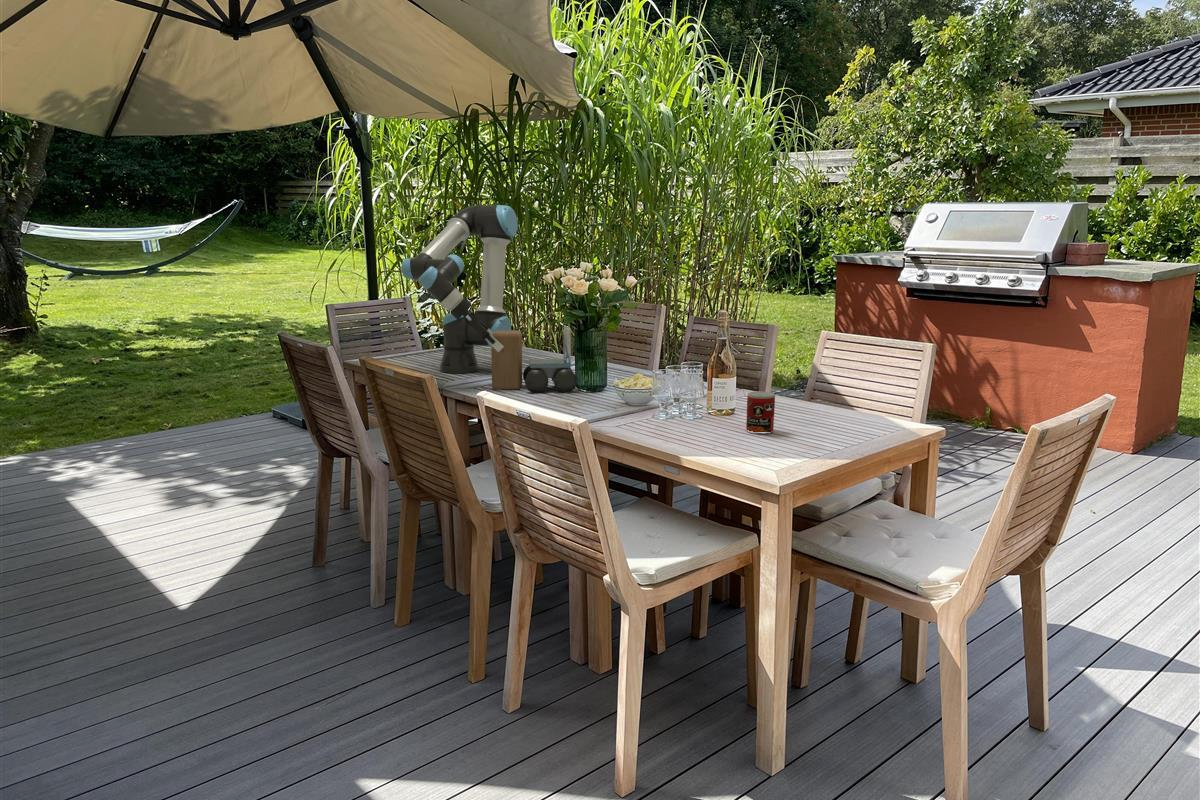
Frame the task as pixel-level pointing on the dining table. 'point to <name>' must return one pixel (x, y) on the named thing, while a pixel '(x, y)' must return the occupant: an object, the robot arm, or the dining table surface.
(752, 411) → the canned food
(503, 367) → the wooden block
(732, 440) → the dining table surface
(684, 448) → the dining table surface
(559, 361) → the trolley
